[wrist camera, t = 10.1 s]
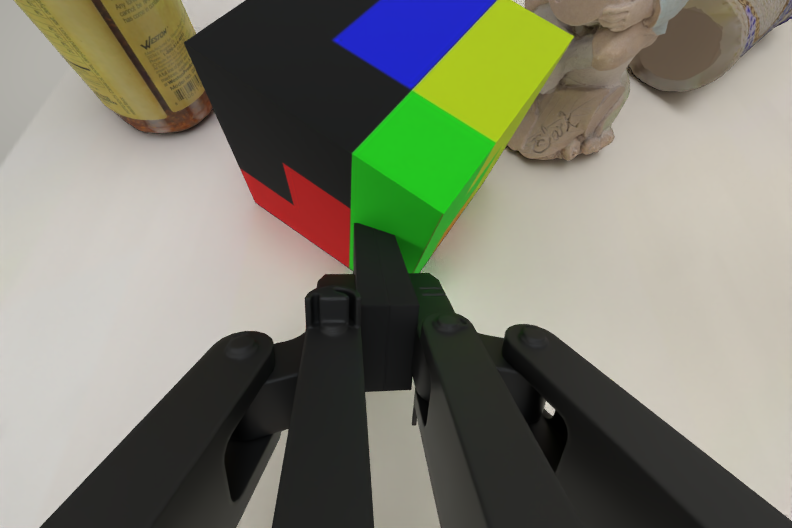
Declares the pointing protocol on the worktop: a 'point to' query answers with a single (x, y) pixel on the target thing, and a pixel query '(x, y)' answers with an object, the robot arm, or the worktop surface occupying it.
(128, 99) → the sauce bottle
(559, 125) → the figurine
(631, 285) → the worktop surface
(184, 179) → the worktop surface
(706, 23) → the decorative bottle
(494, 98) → the puzzle toy
